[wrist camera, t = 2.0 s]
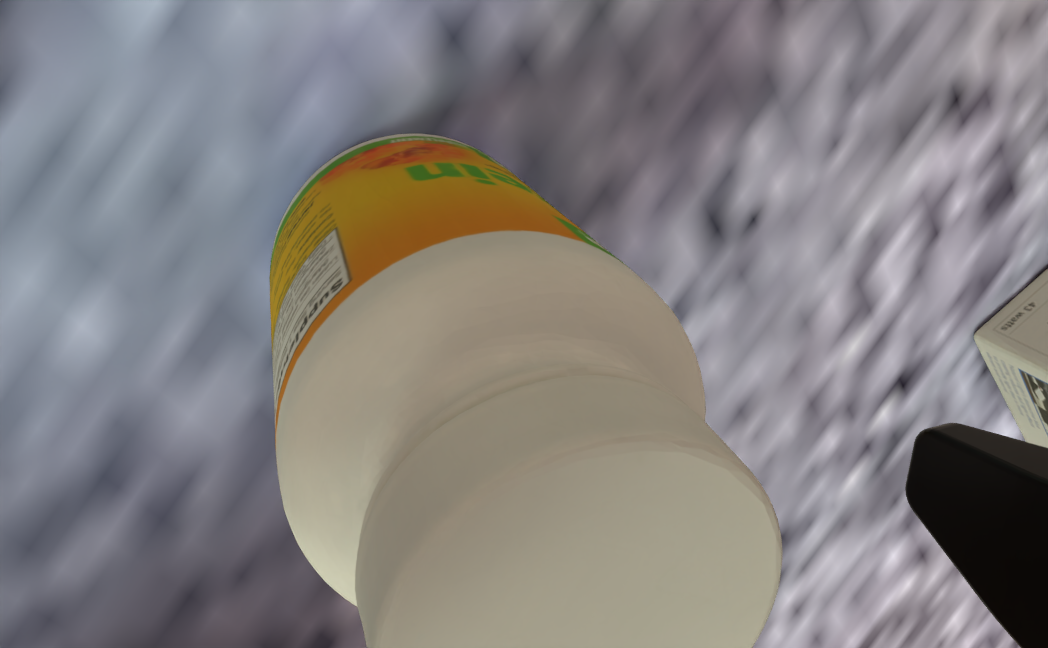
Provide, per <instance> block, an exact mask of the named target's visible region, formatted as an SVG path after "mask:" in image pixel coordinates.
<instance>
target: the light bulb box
mask: <svg viewBox="0 0 1048 648" xmlns="http://www.w3.org/2000/svg"><path fill="white" fill-rule="evenodd" d="M974 340H975V342H976V344H977V346H978V348H979V350H980V353H981V355H982V357H983V358H984V360H985V362H986V364H987V366H988V368H989V370H990V372H991V374H992V376H993V378H994V380H995V382H996V384H997V385H998V387H999V389H1000V391H1001V393H1002V395H1003V397H1004V399H1005V401H1006V403H1007V405H1008V407H1009V409H1010V411H1011V413H1012V415H1013V417H1014V419H1015V421H1016V423H1017V425H1018V427H1019V429H1020V431H1021V433H1022V435H1023V437H1024V439H1025V441H1026V442H1028V443H1032V444H1035V445H1039V446H1043V447H1046V448H1048V269H1047V270H1045V271H1044V272H1043V273H1042V274H1041V275H1040V276H1039V277H1038V278H1036V279H1035V280H1034V281H1033V282H1032V283H1031V284H1030V285H1029V286H1027V287H1026V288H1025V289H1024V290H1023V291H1022V292H1021V293H1020V294H1018V295H1017V296H1016V297H1015V298H1014V299H1013V300H1012V301H1011V302H1009V303H1008V304H1007V305H1006V306H1005V307H1004V308H1003V309H1002V310H1000V311H999V312H998V313H997V314H996V315H995V316H994V317H992V318H991V319H990V320H989V321H988V322H987V323H986V324H984V325H983V326H982V327H981V328H980V329H979V330H978V331H977V332H976V333H975V334H974Z"/></svg>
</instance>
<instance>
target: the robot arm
mask: <svg viewBox="0 0 1048 648" xmlns="http://www.w3.org/2000/svg"><path fill="white" fill-rule="evenodd" d="M905 490H906V497H907V500H908V502H909V505H910V507H911V508H912V510H913V511H914V513H915V514H916V515H917V517H918V518H919V519H920V520H921V522H922V523H923V524H924V526H925V527H926V528H927V530H928V531H929V532H930V534H931V535H932V536H933V538H934V539H935V540H936V542H937V543H938V544H939V545H940V547H941V548H942V549H943V551H944V552H945V553H946V555H947V556H948V557H949V559H950V560H951V561H952V563H953V564H954V565H955V567H956V568H957V569H958V570H959V572H960V573H961V574H962V576H963V577H964V578H965V580H966V581H967V582H968V584H969V585H970V586H971V588H972V589H973V590H974V592H975V593H976V594H977V595H978V597H979V598H980V599H981V601H982V602H983V603H984V605H985V606H986V607H987V608H988V610H989V611H990V612H991V613H992V615H993V616H994V617H995V618H996V620H997V621H998V622H999V623H1000V624H1001V625H1002V627H1003V628H1004V629H1005V630H1006V631H1007V632H1008V634H1009V635H1010V636H1011V637H1012V638H1013V639H1014V640H1015V642H1016V643H1017V644H1018V645H1019V646H1020V647H1021V648H1048V448H1046V447H1043V446H1039V445H1035V444H1032V443H1028V442H1024V441H1021V440H1017V439H1014V438H1010V437H1006V436H1003V435H999V434H995V433H992V432H988V431H985V430H981V429H977V428H974V427H970V426H966V425H963V424H958V423H947V424H943V425H939V426H935V427H931V428H928V429H925V430H923V431H921V432H920V433H919V434H918V436H917V437H916V439H915V442H914V447H913V452H912V456H911V461H910V466H909V471H908V476H907V481H906V487H905Z"/></svg>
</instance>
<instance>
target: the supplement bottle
mask: <svg viewBox="0 0 1048 648" xmlns="http://www.w3.org/2000/svg"><path fill="white" fill-rule="evenodd" d="M270 311H271V337H272V360H273V383H274V411H275V447H276V458H277V471H278V478H279V485H280V492H281V497H282V502H283V506H284V511H285V514H286V516H287V519H288V522H289V524H290V527H291V530H292V532H293V534H294V537H295V539H296V541H297V543H298V545H299V547H300V548H301V550H302V552H303V553H304V555H305V557H306V558H307V560H308V561H309V562H310V564H311V565H312V566H313V568H314V569H315V570H316V571H317V573H318V574H319V575H320V576H321V577H322V579H323V580H324V581H325V582H326V583H327V584H328V585H329V586H331V587H332V588H333V589H334V590H335V591H336V592H337V593H339V594H340V595H341V596H342V597H343V598H345V599H346V600H348V601H349V602H351V603H352V604H354V605H355V606H357V607H358V610H359V614H360V618H361V622H362V625H363V630H364V636H365V641H366V646H367V648H752V647H753V645H754V644H755V642H756V640H757V638H758V637H759V635H760V633H761V631H762V630H763V628H764V625H765V623H766V621H767V619H768V616H769V614H770V612H771V610H772V607H773V604H774V601H775V598H776V595H777V591H778V587H779V582H780V574H781V565H782V541H781V534H780V529H779V524H778V519H777V517H776V514H775V511H774V509H773V506H772V504H771V501H770V499H769V497H768V496H767V494H766V492H765V491H764V489H763V487H762V486H761V484H760V483H759V481H758V480H757V478H756V477H755V476H754V475H753V473H752V472H751V471H750V470H749V469H748V468H747V466H746V465H745V464H744V463H743V462H742V461H741V460H740V459H739V458H738V457H737V456H736V455H735V453H734V452H733V451H732V450H731V449H730V448H729V447H728V446H727V445H726V444H725V443H724V441H723V440H722V439H721V438H720V437H719V436H718V435H717V434H716V433H715V432H714V431H713V430H712V429H711V428H710V427H709V426H708V425H707V424H706V423H705V413H706V409H705V394H704V388H703V382H702V377H701V372H700V368H699V365H698V361H697V358H696V355H695V353H694V350H693V347H692V345H691V343H690V341H689V339H688V337H687V335H686V333H685V331H684V329H683V327H682V326H681V324H680V322H679V320H678V319H677V317H676V316H675V314H674V313H673V311H672V310H671V309H670V308H669V307H668V305H667V304H666V303H665V302H664V301H663V300H662V299H661V298H660V297H659V295H658V294H657V293H656V292H655V291H654V290H653V289H652V288H651V287H650V286H649V285H648V284H647V283H645V282H644V281H643V280H642V279H641V278H640V277H639V276H638V275H637V274H635V273H634V272H633V271H632V270H631V269H630V268H629V267H627V266H626V265H625V264H624V263H623V262H621V261H620V260H619V259H617V258H616V257H615V256H614V255H612V254H611V253H610V252H609V251H607V250H606V249H605V248H604V247H602V246H601V245H600V244H599V243H597V242H596V241H595V240H593V239H592V238H591V237H590V236H589V235H587V234H586V233H585V232H584V231H583V230H581V229H580V228H579V227H578V226H576V225H575V224H574V223H572V222H571V221H570V220H569V219H567V218H566V217H565V216H564V215H562V214H561V213H560V212H559V211H558V210H556V209H555V208H554V207H553V206H551V205H550V204H549V203H548V202H546V201H545V200H544V199H543V198H542V197H541V196H539V195H538V194H537V193H536V192H535V191H533V190H532V189H531V188H530V187H529V186H527V185H526V184H525V183H524V182H522V181H521V180H520V179H519V178H517V177H516V176H515V175H514V174H513V173H512V172H510V171H509V170H508V169H507V168H505V167H504V166H503V165H501V164H500V163H498V162H497V161H496V160H494V159H493V158H491V157H490V156H488V155H486V154H485V153H483V152H481V151H480V150H478V149H476V148H474V147H472V146H470V145H467V144H465V143H462V142H460V141H457V140H454V139H450V138H447V137H443V136H437V135H429V134H396V135H390V136H385V137H380V138H376V139H372V140H369V141H366V142H363V143H361V144H358V145H356V146H354V147H352V148H349V149H347V150H345V151H343V152H342V153H340V154H339V155H337V156H335V157H334V158H332V159H331V160H329V161H328V162H327V163H325V164H324V165H323V166H322V167H320V168H319V169H318V170H317V171H316V172H315V173H314V174H313V175H312V176H311V177H310V178H309V179H308V180H307V181H306V182H305V183H304V185H303V186H302V187H301V188H300V190H299V191H298V192H297V194H296V195H295V196H294V198H293V199H292V201H291V203H290V205H289V206H288V208H287V210H286V212H285V214H284V216H283V218H282V219H281V222H280V224H279V227H278V230H277V233H276V236H275V240H274V245H273V249H272V257H271V267H270Z"/></svg>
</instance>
